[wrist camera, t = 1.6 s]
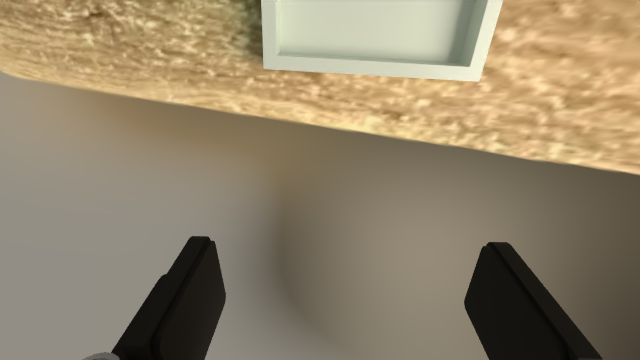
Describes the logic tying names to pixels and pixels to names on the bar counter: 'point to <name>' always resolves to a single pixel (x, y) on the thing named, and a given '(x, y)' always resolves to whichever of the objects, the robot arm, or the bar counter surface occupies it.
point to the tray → (380, 37)
